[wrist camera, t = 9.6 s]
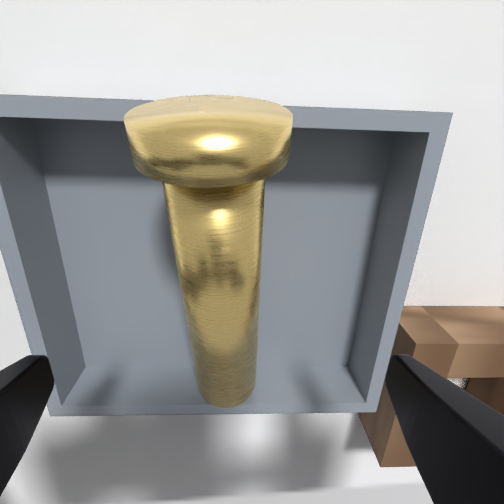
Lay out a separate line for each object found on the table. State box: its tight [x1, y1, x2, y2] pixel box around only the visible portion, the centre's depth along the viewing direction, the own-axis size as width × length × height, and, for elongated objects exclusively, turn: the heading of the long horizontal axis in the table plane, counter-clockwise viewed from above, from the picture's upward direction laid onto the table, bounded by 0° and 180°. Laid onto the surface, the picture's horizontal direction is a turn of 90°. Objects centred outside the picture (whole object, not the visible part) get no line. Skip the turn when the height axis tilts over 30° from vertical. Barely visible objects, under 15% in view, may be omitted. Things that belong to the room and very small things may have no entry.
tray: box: [0, 94, 453, 416], centre depth 13 cm, size 15×13×3 cm
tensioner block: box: [360, 306, 504, 467], centre depth 16 cm, size 8×8×3 cm
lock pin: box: [123, 95, 293, 408], centre depth 11 cm, size 4×4×12 cm
